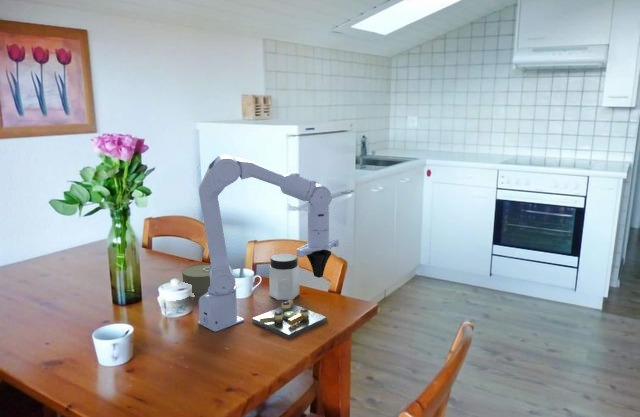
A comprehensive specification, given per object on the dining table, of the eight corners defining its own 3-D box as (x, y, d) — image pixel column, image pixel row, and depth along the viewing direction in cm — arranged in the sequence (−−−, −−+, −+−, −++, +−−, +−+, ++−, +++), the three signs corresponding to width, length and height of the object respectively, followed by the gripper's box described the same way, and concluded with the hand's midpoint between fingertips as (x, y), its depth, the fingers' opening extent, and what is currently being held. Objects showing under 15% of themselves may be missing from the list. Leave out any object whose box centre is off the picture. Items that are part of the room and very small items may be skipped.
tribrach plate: (288, 338, 126) (288, 328, 125) (252, 322, 135) (252, 312, 135) (326, 321, 136) (326, 311, 135) (290, 307, 145) (290, 298, 145)
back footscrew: (289, 312, 138) (289, 304, 137) (280, 312, 138) (280, 303, 138) (295, 304, 143) (295, 296, 143) (287, 303, 144) (287, 295, 143)
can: (176, 290, 159) (175, 269, 157) (211, 281, 166) (210, 261, 164) (193, 301, 149) (192, 279, 148) (229, 292, 157) (228, 271, 155)
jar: (270, 301, 150) (269, 262, 147) (269, 291, 158) (268, 253, 155) (300, 299, 151) (300, 260, 148) (298, 289, 159) (297, 252, 156)
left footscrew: (282, 318, 134) (281, 310, 133) (284, 322, 132) (283, 313, 131) (259, 321, 132) (259, 312, 132) (261, 325, 130) (260, 316, 130)
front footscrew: (303, 315, 136) (303, 307, 136) (310, 317, 135) (310, 309, 134) (286, 324, 131) (286, 315, 130) (293, 326, 129) (293, 318, 129)
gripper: (310, 236, 129) (310, 286, 132) (347, 226, 140) (346, 273, 142) (291, 231, 134) (291, 280, 137) (328, 222, 144) (327, 267, 147)
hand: (318, 276), depth 140 cm, fingers closed
